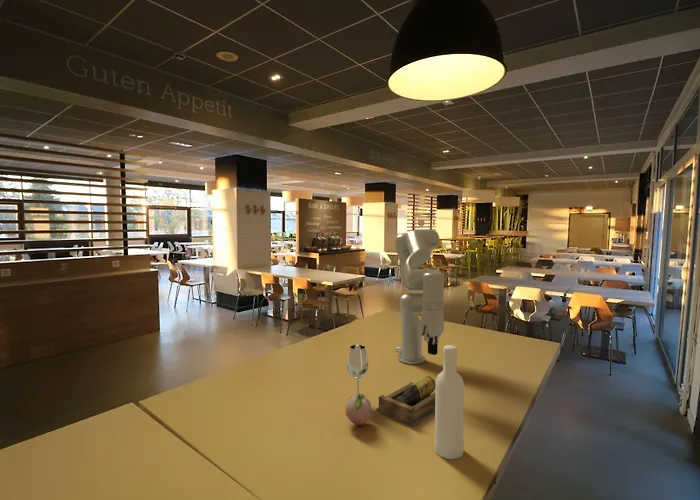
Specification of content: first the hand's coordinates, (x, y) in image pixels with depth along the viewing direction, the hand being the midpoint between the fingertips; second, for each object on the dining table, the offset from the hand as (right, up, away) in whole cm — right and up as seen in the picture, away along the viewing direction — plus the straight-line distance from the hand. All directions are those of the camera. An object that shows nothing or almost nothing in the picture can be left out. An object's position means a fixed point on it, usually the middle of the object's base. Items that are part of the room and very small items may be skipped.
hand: (432, 353), depth 139 cm
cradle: (-9, -16, -8) cm, 20 cm away
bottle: (-3, -18, -34) cm, 39 cm away
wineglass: (-28, -16, -4) cm, 33 cm away
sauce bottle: (-1, -11, +2) cm, 11 cm away
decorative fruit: (-28, -17, -20) cm, 39 cm away
